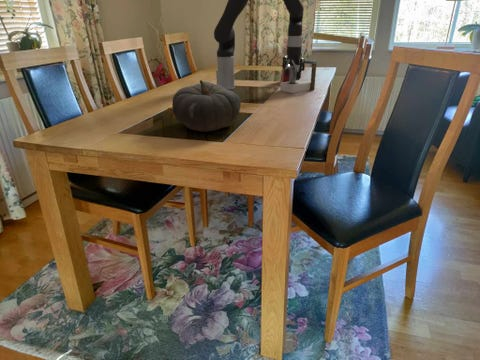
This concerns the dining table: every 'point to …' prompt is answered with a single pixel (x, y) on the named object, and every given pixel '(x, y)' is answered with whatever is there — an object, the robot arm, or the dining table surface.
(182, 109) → the gourd
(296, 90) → the socket block
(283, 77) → the milk carton
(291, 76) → the peg
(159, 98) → the dining table surface
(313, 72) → the grey arch
